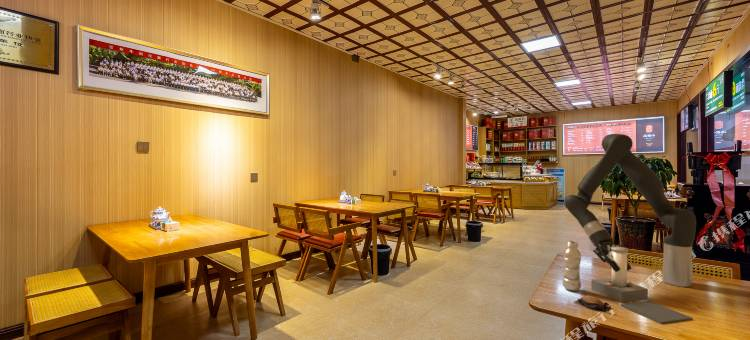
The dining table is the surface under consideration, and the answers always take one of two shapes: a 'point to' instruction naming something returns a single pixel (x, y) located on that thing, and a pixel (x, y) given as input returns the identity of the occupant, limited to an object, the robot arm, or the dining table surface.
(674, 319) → the rubber mat
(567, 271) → the plastic bottle
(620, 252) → the cylinder
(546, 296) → the dining table surface
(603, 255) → the robot arm
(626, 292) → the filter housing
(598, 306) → the dark brown curved piece
